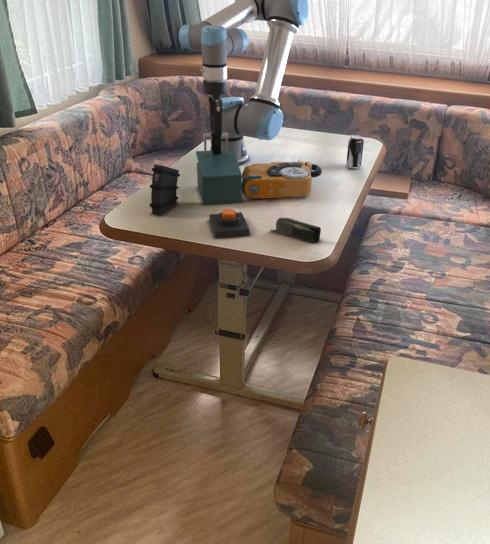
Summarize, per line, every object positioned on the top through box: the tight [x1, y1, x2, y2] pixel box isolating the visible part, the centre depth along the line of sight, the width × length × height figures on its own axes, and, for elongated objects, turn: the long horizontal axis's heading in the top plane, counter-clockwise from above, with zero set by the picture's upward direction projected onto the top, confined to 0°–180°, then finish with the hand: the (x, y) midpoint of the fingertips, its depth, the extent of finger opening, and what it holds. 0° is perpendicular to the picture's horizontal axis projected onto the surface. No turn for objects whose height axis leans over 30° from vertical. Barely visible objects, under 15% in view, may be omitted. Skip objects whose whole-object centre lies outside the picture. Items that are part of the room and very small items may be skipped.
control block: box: [208, 211, 250, 239], centre depth 171 cm, size 12×10×4 cm
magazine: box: [149, 164, 181, 217], centre depth 180 cm, size 4×13×15 cm, turn 160°
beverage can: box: [345, 134, 365, 170], centre depth 219 cm, size 6×6×12 cm
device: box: [241, 159, 323, 200], centre depth 199 cm, size 23×8×30 cm
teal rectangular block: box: [196, 162, 243, 206], centre depth 192 cm, size 16×13×9 cm
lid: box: [195, 132, 242, 179], centre depth 186 cm, size 16×13×8 cm
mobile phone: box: [270, 217, 322, 244], centre depth 167 cm, size 5×3×15 cm
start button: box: [221, 208, 237, 219], centre depth 170 cm, size 4×4×2 cm
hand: (216, 152), depth 191 cm, fingers open, 2 cm apart
